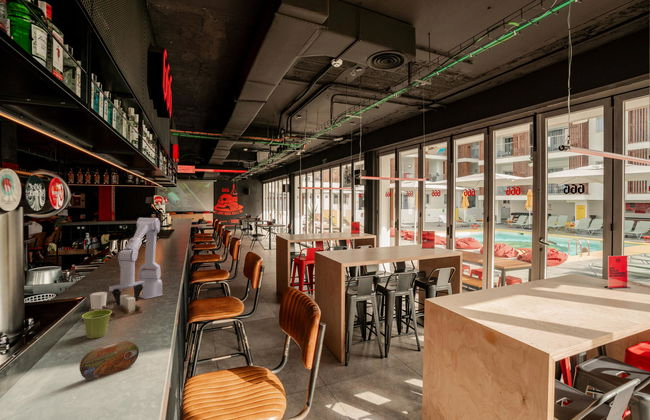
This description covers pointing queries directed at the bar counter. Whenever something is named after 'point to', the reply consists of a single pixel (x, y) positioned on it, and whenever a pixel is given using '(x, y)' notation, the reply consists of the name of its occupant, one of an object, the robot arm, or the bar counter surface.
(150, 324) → the bar counter surface
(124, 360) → the tin
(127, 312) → the rack
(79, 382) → the bar counter surface
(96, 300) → the shot glass
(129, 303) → the cream rectangular block
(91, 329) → the plant pot
